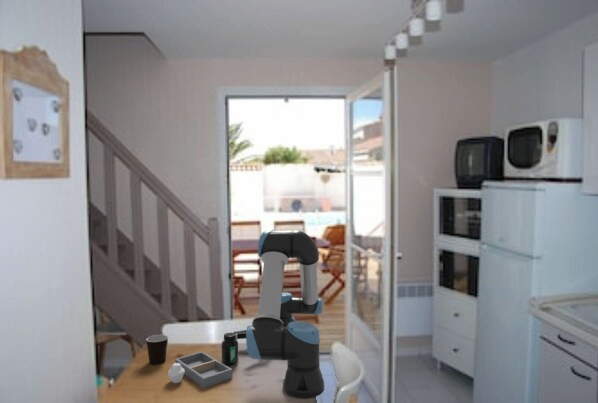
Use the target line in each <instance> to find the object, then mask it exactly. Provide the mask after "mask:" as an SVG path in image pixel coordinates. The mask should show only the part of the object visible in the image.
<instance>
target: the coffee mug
mask: <svg viewBox="0 0 598 403" xmlns="http://www.w3.org/2000/svg"><path fill="white" fill-rule="evenodd" d="M168 339H169V337H168V335H167V334H153V335H150V336H148V337H147V338H146V339H145V340H146V348H147V355H148V361H149V364H150V365H152V366H158V365H162V364H164V363H165V362H166V360H167V349H168V343H169V342H168V341H169V340H168Z"/></svg>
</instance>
